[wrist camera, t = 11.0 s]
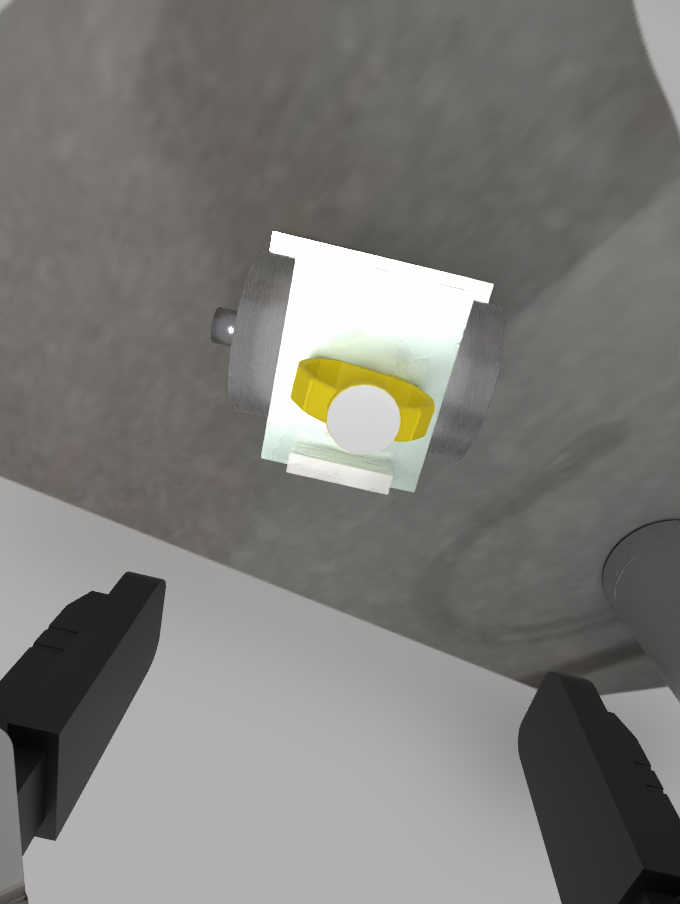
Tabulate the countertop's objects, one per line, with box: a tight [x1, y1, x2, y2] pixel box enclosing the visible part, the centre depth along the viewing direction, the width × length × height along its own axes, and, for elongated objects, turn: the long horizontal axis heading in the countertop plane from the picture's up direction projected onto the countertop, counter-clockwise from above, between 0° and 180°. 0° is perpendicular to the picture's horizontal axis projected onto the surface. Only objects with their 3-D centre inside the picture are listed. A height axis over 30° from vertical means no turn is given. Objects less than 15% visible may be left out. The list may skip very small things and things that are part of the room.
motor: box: [211, 231, 504, 495], centre depth 29 cm, size 16×11×13 cm
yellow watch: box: [290, 358, 435, 455], centre depth 21 cm, size 6×3×6 cm, turn 74°
